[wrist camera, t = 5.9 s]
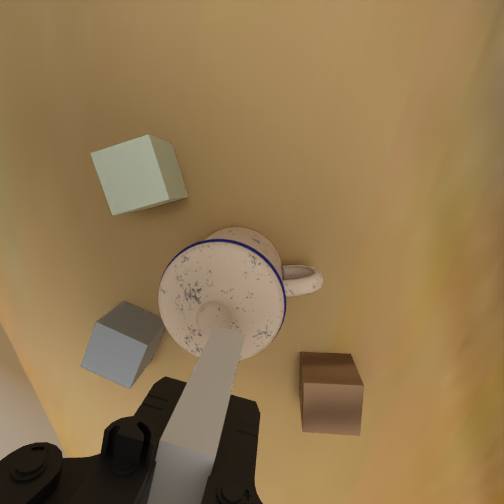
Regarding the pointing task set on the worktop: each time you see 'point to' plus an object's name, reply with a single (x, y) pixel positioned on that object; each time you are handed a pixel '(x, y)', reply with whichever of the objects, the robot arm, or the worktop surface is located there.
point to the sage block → (139, 174)
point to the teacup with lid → (230, 290)
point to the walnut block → (330, 394)
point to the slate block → (123, 344)
